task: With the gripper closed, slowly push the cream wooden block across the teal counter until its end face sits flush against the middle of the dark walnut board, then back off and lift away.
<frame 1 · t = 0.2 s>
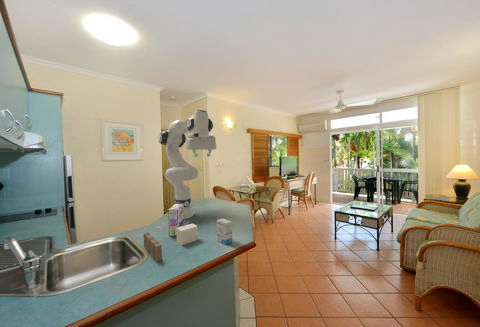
hand: (202, 156, 126), 47 cm above the counter, fingers open, 8 cm apart
cream block: (187, 240, 110), on the counter
ink box: (224, 241, 109), on the counter
walnut board: (152, 252, 97), on the counter
candy box: (177, 232, 122), on the counter
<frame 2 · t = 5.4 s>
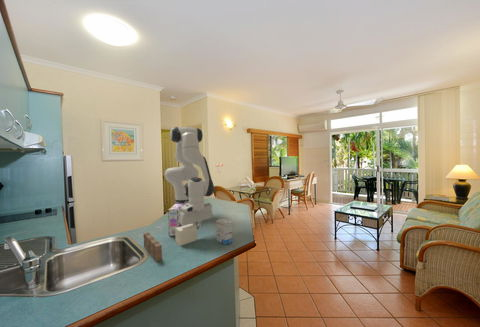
hand: (197, 228, 113), 5 cm above the counter, fingers closed
cream block: (186, 241, 109), on the counter, touching gripper
everything else where it was.
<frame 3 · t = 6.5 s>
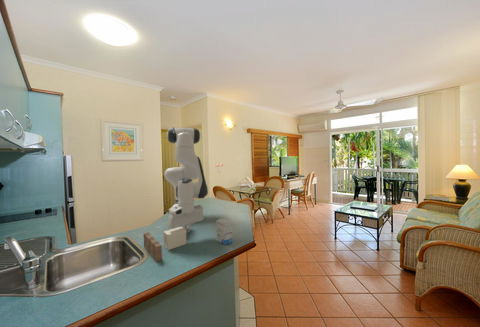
hand: (187, 231, 109), 5 cm above the counter, fingers closed
cream block: (175, 244, 105), on the counter, touching gripper
everything else where it was.
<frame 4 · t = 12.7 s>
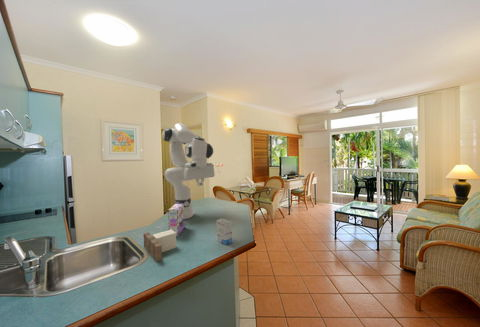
hand: (200, 185, 122), 29 cm above the counter, fingers closed
cream block: (164, 248, 101), on the counter
everything else where it was.
at the end: cream block 0.4 cm from the target spot on the counter beside the walnut board, on the counter; cream block tilted 0° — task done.
